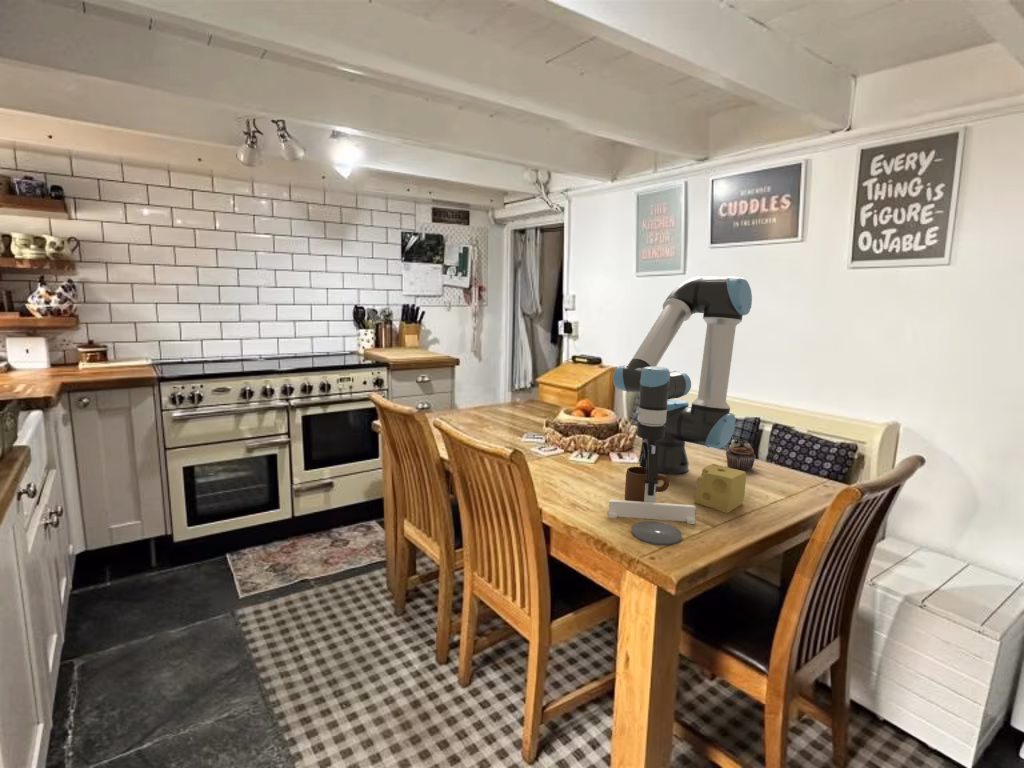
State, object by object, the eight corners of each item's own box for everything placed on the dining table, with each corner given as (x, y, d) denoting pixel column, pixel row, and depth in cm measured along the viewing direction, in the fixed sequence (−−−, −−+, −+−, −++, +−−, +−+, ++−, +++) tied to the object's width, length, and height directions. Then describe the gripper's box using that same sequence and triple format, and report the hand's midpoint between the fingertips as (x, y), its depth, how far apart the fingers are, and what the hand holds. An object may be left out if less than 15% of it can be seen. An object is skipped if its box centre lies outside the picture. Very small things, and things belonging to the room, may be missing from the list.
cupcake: (758, 472, 184) (761, 444, 183) (728, 470, 186) (730, 442, 184) (750, 464, 194) (753, 437, 192) (721, 462, 195) (724, 435, 193)
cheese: (693, 503, 155) (695, 469, 153) (710, 494, 162) (713, 462, 161) (728, 514, 148) (732, 478, 146) (745, 504, 155) (748, 470, 154)
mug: (669, 503, 154) (672, 471, 153) (665, 512, 148) (668, 479, 146) (627, 495, 159) (629, 464, 158) (621, 504, 152) (623, 472, 151)
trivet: (628, 522, 140) (629, 519, 140) (676, 525, 139) (676, 522, 139) (633, 542, 129) (634, 539, 128) (686, 546, 127) (686, 543, 127)
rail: (607, 511, 147) (608, 497, 146) (691, 517, 144) (693, 503, 144) (608, 517, 143) (609, 503, 142) (695, 523, 140) (696, 509, 140)
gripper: (632, 413, 162) (628, 481, 166) (643, 433, 138) (637, 512, 141) (658, 414, 162) (653, 483, 165) (673, 434, 137) (666, 515, 140)
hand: (645, 497), depth 153 cm, fingers open, 13 cm apart
